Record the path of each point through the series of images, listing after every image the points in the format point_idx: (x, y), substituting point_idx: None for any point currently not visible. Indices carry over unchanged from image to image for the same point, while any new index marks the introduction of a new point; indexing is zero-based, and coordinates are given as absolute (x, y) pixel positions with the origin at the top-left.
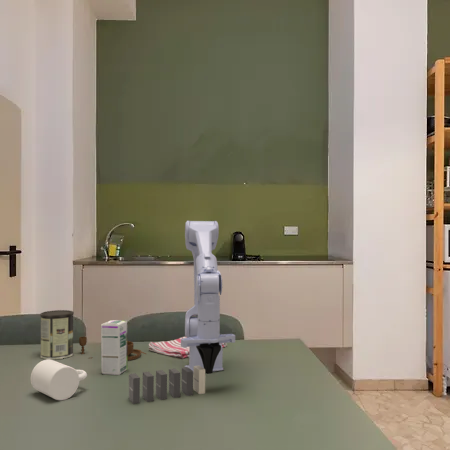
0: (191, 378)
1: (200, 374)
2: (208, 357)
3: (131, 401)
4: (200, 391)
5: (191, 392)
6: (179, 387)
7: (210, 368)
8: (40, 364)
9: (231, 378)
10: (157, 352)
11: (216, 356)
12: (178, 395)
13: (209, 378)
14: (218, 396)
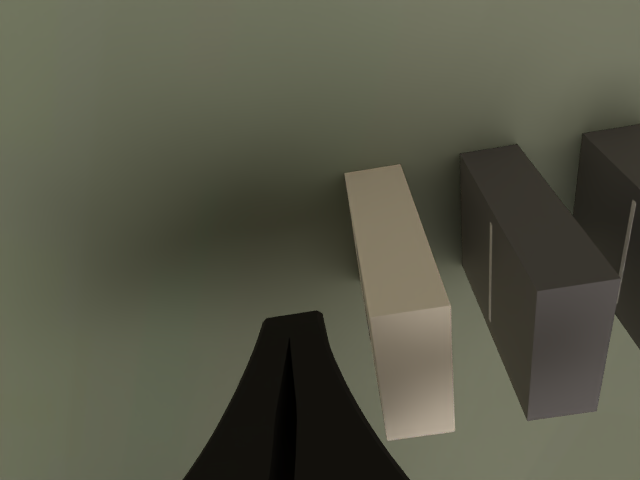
0: (527, 235)
1: (422, 274)
2: (334, 456)
3: None
4: (391, 176)
5: (480, 164)
6: (632, 172)
7: (288, 350)
8: None
9: (72, 417)
10: None
11: (194, 477)
12: (605, 137)
13: None
14: (242, 62)
